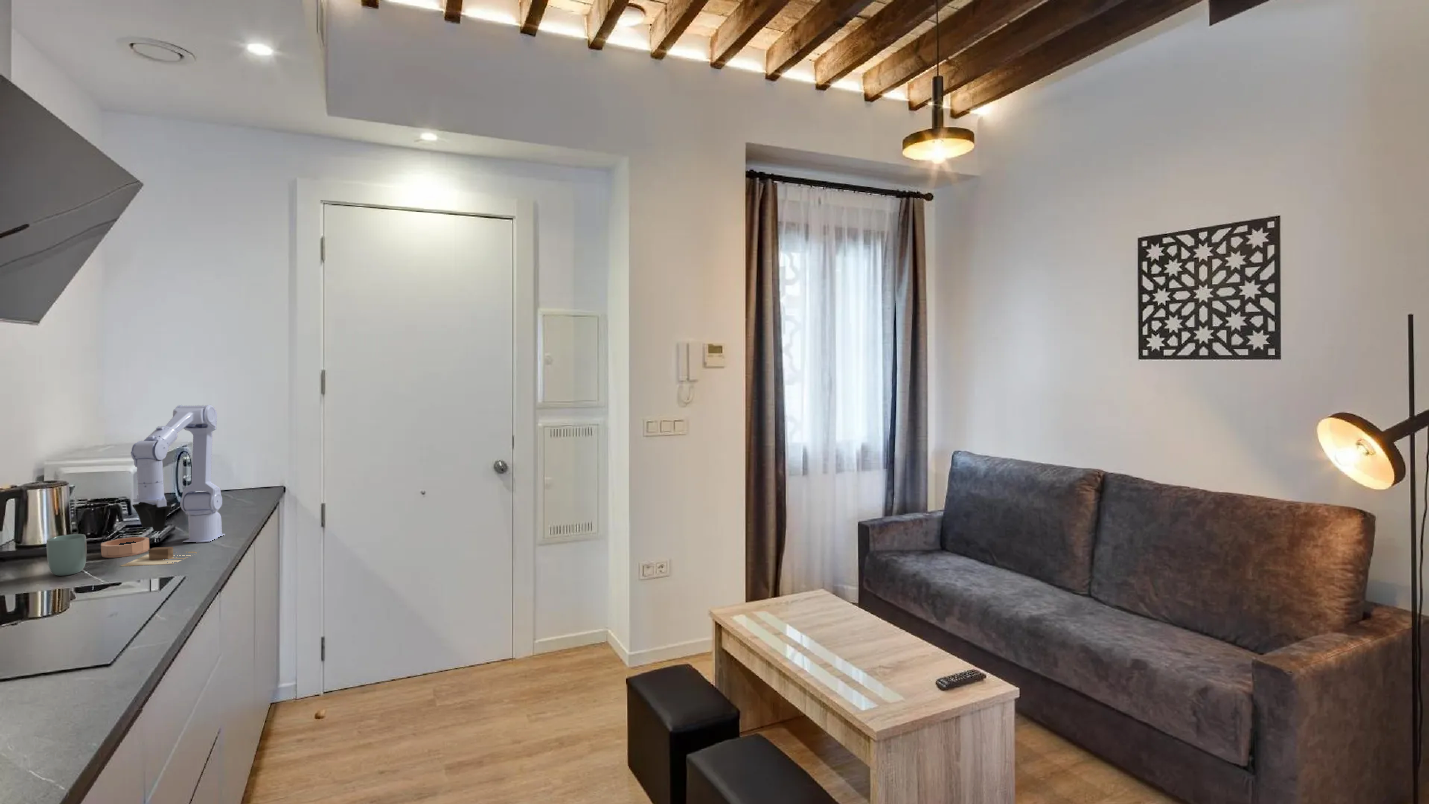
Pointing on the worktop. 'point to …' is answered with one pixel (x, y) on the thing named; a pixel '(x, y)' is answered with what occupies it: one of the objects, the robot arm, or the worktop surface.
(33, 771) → the worktop surface
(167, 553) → the lid
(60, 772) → the worktop surface
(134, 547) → the dish
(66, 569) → the cup
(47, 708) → the worktop surface
